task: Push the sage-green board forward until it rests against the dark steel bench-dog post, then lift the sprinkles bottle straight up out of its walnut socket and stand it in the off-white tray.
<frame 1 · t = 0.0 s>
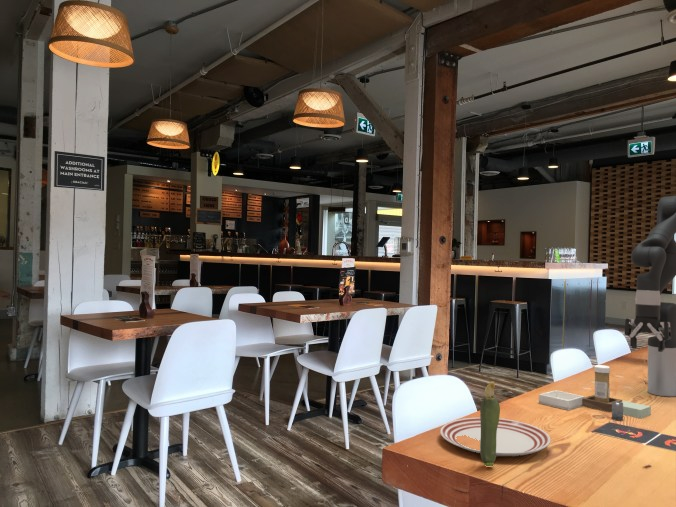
hand: (647, 350, 185), 17 cm above the table, tool pointing down, fingers open, 8 cm apart
socket block: (601, 406, 174), on the table
tray: (561, 404, 177), on the table
vegetable: (489, 467, 122), on the table
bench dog: (617, 419, 161), on the table
dinner plate: (493, 445, 138), on the table
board: (632, 414, 167), on the table
sprinkles bottle: (601, 407, 174), resting in socket block
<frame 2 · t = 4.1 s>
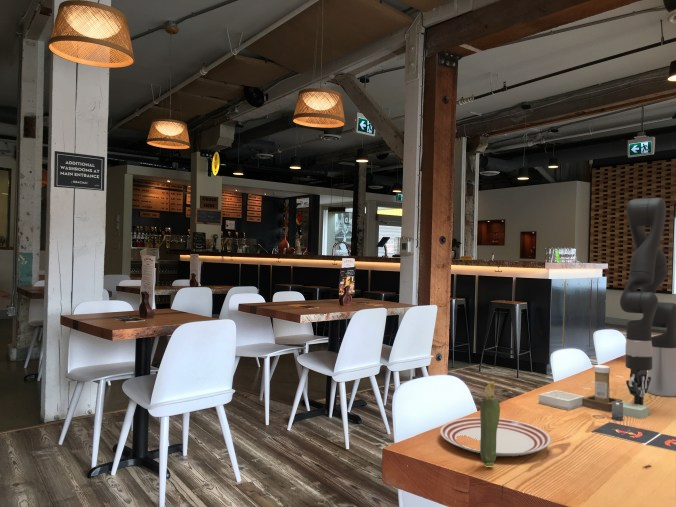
hand: (638, 407, 170), 1 cm above the table, tool pointing down, fingers closed
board: (631, 415, 166), on the table, touching gripper
everything else where it was.
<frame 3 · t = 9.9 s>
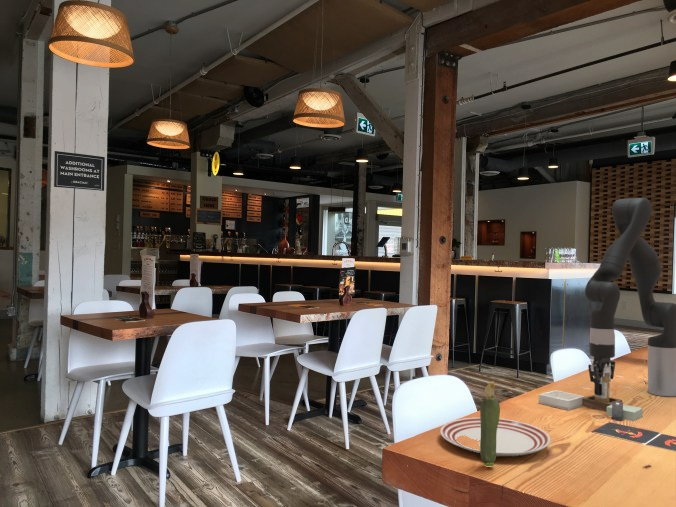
hand: (601, 393, 174), 4 cm above the table, tool pointing down, fingers closed on sprinkles bottle, 4 cm apart
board: (624, 417, 164), on the table
sprinkles bottle: (601, 407, 174), resting in socket block, touching gripper
everything else where it was.
when the fingers open (6 cm above the table, at t = 14.8 s): sprinkles bottle stays where it is, resting on tray.
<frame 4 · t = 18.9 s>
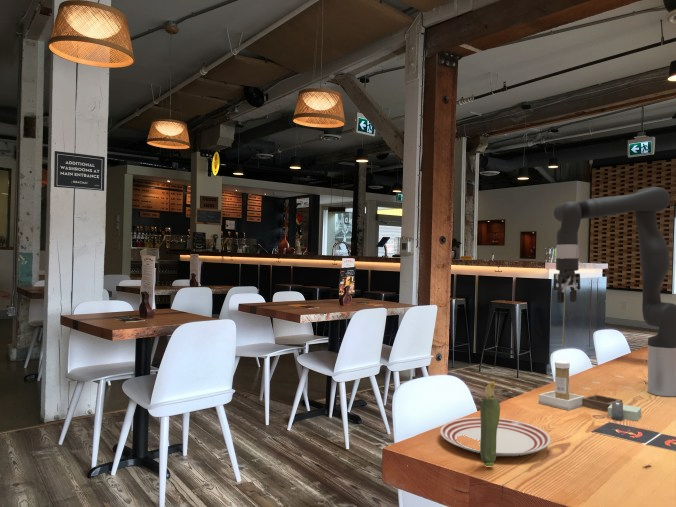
hand: (567, 302, 191), 33 cm above the table, tool pointing down, fingers open, 8 cm apart
sprinkles bottle: (562, 402, 177), point 1 cm above the table, touching tray
everything else where it was.
at the end: sprinkles bottle inside the target area on the tray (0.1 cm from its centre), point 0.6 cm above the tray's base; sprinkles bottle tilted 0°; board 0.4 cm from the target spot, on the table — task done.
